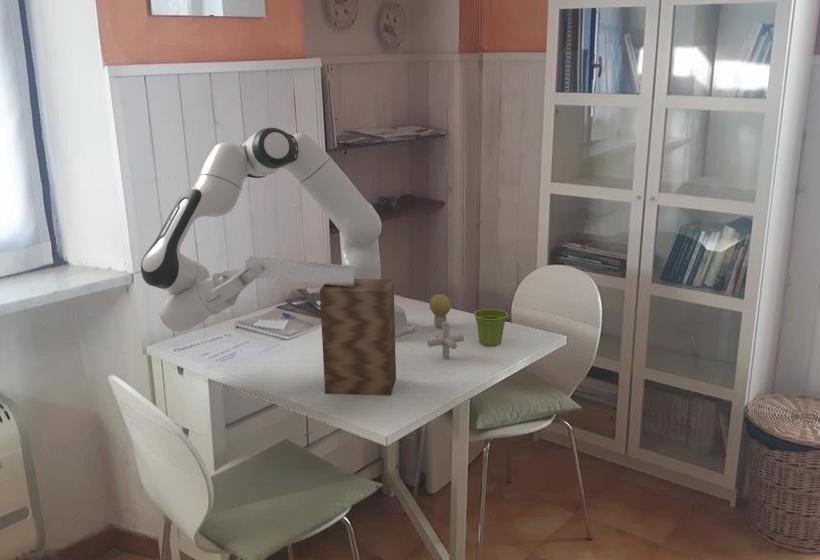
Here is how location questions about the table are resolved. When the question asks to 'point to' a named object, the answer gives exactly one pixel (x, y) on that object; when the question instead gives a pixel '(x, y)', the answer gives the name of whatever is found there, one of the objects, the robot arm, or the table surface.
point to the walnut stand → (359, 337)
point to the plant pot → (490, 326)
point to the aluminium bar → (304, 271)
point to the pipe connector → (445, 340)
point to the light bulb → (440, 308)
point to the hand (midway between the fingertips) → (265, 265)
